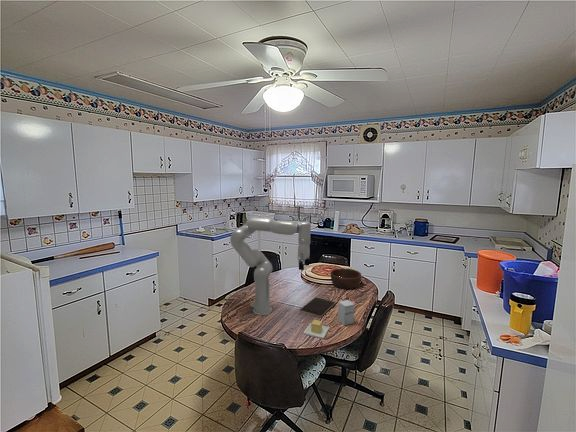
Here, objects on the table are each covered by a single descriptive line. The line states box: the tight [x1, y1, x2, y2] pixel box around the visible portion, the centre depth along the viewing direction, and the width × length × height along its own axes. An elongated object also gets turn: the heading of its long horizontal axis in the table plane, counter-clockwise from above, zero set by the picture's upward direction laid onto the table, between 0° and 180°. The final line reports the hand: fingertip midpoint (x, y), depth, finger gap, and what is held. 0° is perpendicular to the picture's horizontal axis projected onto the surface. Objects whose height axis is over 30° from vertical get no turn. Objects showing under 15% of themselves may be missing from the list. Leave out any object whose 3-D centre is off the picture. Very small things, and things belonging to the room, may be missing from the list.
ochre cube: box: [310, 319, 323, 334], centre depth 167 cm, size 5×5×5 cm
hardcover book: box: [298, 296, 336, 318], centre depth 197 cm, size 16×23×2 cm
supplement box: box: [337, 299, 355, 326], centre depth 178 cm, size 7×7×13 cm
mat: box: [302, 322, 330, 340], centre depth 167 cm, size 12×12×1 cm
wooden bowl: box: [330, 267, 362, 290], centre depth 238 cm, size 25×25×10 cm
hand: (304, 267), depth 182 cm, fingers open, 9 cm apart
